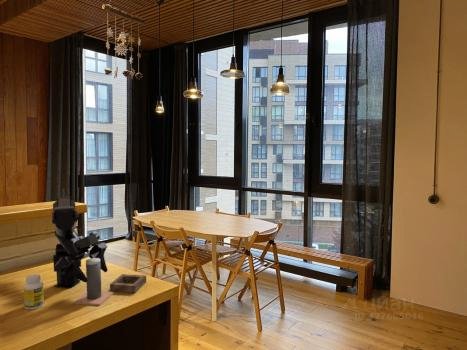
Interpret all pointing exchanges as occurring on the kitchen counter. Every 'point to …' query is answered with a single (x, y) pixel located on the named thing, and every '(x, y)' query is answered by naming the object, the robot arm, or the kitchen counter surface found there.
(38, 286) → the supplement bottle
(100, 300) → the terracotta tile
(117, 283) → the walnut collar
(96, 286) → the grey cylinder
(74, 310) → the kitchen counter surface
